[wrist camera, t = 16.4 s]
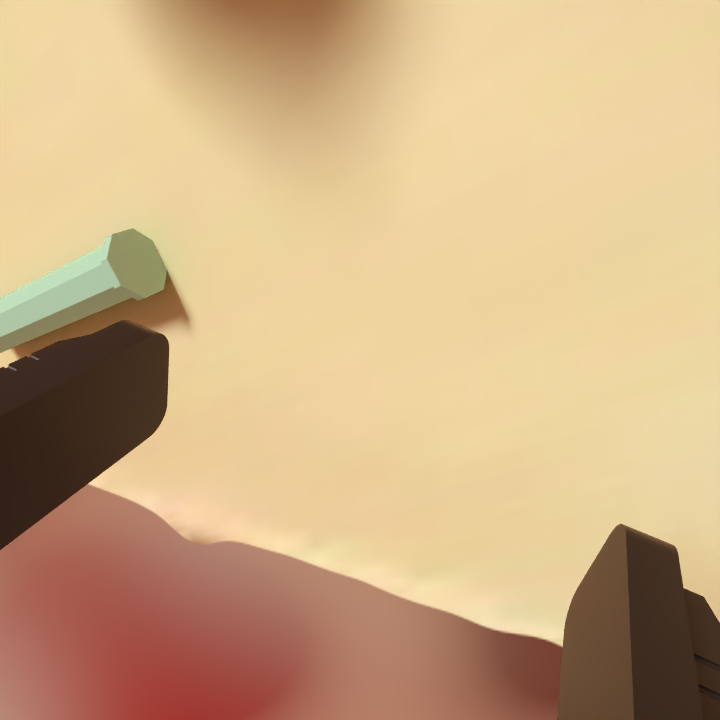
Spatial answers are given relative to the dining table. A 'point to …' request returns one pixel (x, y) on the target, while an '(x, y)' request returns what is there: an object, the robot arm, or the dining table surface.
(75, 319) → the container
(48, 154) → the dining table surface
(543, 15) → the dining table surface
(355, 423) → the dining table surface
